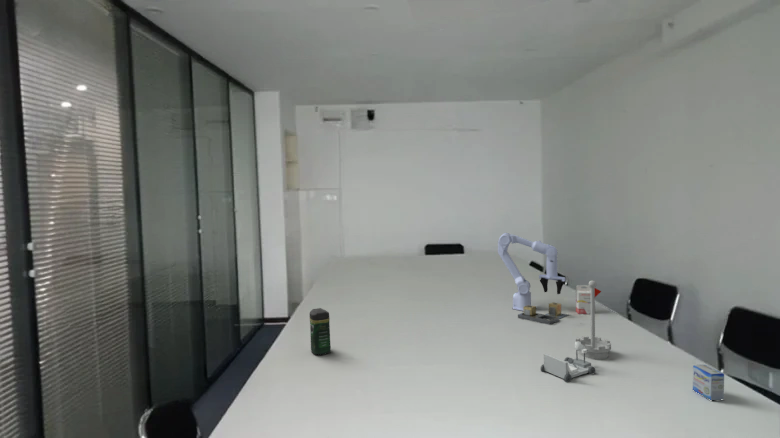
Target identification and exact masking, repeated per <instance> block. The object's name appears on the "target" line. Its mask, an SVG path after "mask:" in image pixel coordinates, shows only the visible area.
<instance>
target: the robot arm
mask: <svg viewBox="0 0 780 438" xmlns="http://www.w3.org/2000/svg"><path fill="white" fill-rule="evenodd" d="M510 244H512V245H513V244H519V245H523V246H525V247H529V248H531V250H532V251H533V252H537V253H538V254H542V255H546V261H545V262H546V265H545V266H546V267H545V268H546V271H545V272H546V273H545V274H539V275H538V279H539V282H540V283H541V286H542V288H543V292H544V293H547V292H548V283H549V280H551V281H555V284H556V293H557V294H556V295H560V294H561V292H562V289H563V286H564V284H565V282H566V277H564V276H559V275H558V254H559V253H558V248H557V247H556V246H554V245H550V243H548V244H547V243H544V242H542V240H535V241H532V240H529V239H527V238H524V237H522V236H519V235H516V234H514V233H508V232H504V233H502V234H501V235H500V236H499V238H498V241H497V254H498V255H499V257H500V259H501V260H502V262H503V264H504V266H505V267H506V268H507V271H508V272H509V273H510V274H511V276H512V278H513V280H514V282H515V285H516V287H517V292H514V293H513V296H512V310H517V311H522V312H524V306H527V305H531V306H532V292H531V291H530V290H531V289H530V288H531V283H530V282H529V281H528V280H526V278H525V276H523V274H522V273H521V272H520V270H519V268H518V267H517V265H516V263H515V262H514V260H513V258H512V257H511V255H510V254H509V252H508V249H509V246H510Z"/></svg>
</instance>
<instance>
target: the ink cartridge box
mask: <svg viewBox="0 0 780 438" xmlns="http://www.w3.org/2000/svg"><path fill="white" fill-rule="evenodd" d="M575 288H576V289H575V312H576V313H577V314H578V315H591V291H590V286H589V284H577V285H576V286H575Z"/></svg>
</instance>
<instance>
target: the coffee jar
mask: <svg viewBox="0 0 780 438" xmlns="http://www.w3.org/2000/svg"><path fill="white" fill-rule="evenodd" d="M330 319H331V318H330V313H329V311H328V310H327V309H326V310H325V309H324V308H321V307H317V308H312V310H310V312H309V328H310V330H309V331H310V333H309V334H310V351H311V353H313V354H314V355H316V354H318V355H319V354H320V355H321V354H324V355H326V354H325V353H327V354H328V352H329V353H331V351H332V350H331V349H332V347H331V330H330V328H331V326H330V325H331V324H330Z"/></svg>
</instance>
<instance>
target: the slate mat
mask: <svg viewBox="0 0 780 438" xmlns="http://www.w3.org/2000/svg"><path fill="white" fill-rule="evenodd" d="M544 315H549V312H548V313H545V314H544ZM567 316H568V314H566V313H561V315H560V316H557V317H559V320H560V319H562V318H565V317H567ZM555 317H556V316H555Z"/></svg>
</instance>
